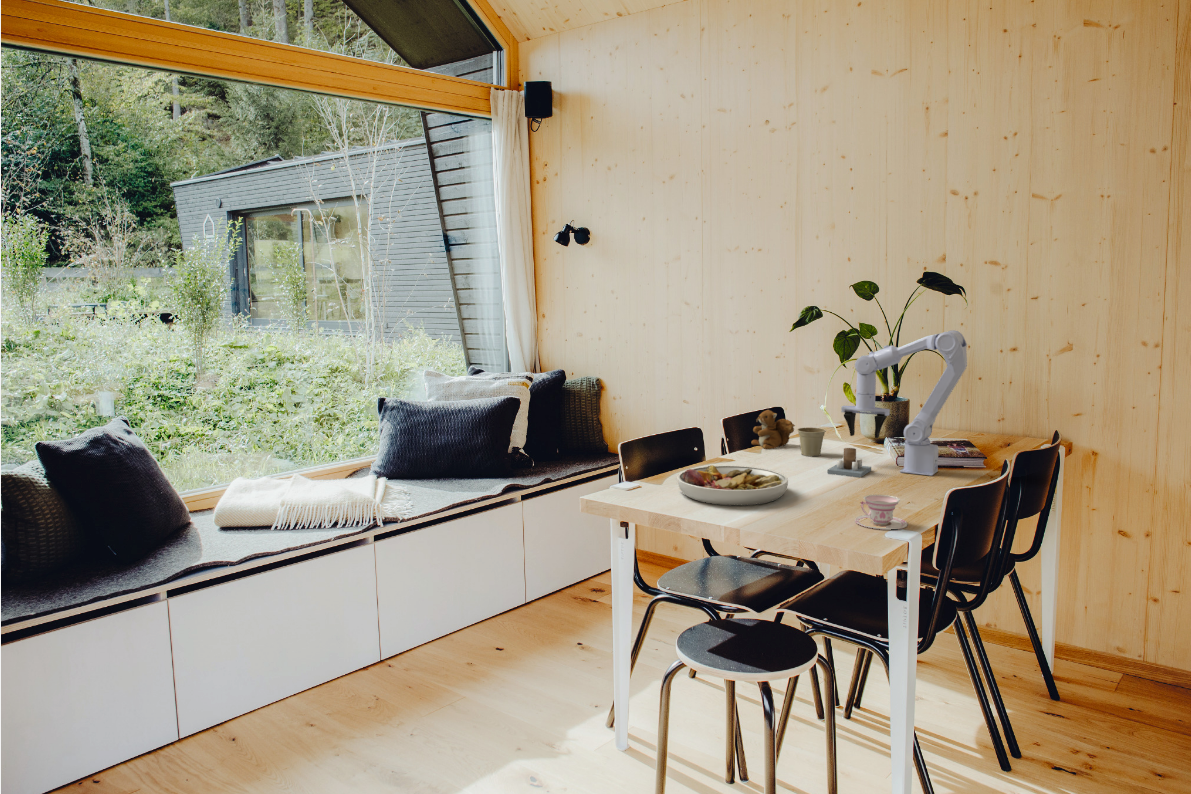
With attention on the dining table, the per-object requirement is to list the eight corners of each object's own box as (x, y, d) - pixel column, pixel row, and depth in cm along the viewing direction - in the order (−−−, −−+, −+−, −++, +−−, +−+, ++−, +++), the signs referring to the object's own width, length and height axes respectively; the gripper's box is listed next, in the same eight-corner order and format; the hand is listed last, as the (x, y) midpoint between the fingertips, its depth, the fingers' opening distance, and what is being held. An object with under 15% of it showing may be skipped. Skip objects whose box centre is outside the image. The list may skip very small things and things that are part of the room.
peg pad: (871, 470, 253) (871, 458, 253) (860, 477, 244) (860, 465, 244) (839, 466, 259) (839, 455, 259) (827, 473, 250) (827, 461, 250)
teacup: (896, 516, 204) (897, 492, 203) (915, 530, 192) (916, 505, 191) (847, 517, 203) (848, 492, 203) (864, 531, 192) (865, 505, 191)
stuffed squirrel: (748, 444, 297) (749, 408, 296) (785, 442, 300) (786, 407, 298) (759, 449, 288) (759, 412, 286) (797, 448, 290) (798, 411, 288)
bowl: (749, 478, 247) (750, 452, 246) (810, 502, 219) (810, 473, 218) (659, 488, 236) (659, 461, 235) (710, 514, 208) (710, 483, 207)
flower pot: (826, 458, 273) (827, 432, 271) (797, 457, 274) (798, 431, 273) (823, 452, 282) (824, 427, 281) (795, 451, 283) (796, 427, 282)
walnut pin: (858, 468, 251) (858, 449, 250) (849, 470, 249) (849, 450, 248) (849, 466, 254) (850, 447, 253) (840, 467, 252) (841, 448, 251)
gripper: (893, 393, 256) (891, 436, 258) (846, 390, 264) (845, 432, 266) (886, 396, 251) (885, 440, 252) (839, 393, 259) (838, 435, 261)
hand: (864, 436), depth 259 cm, fingers open, 7 cm apart
